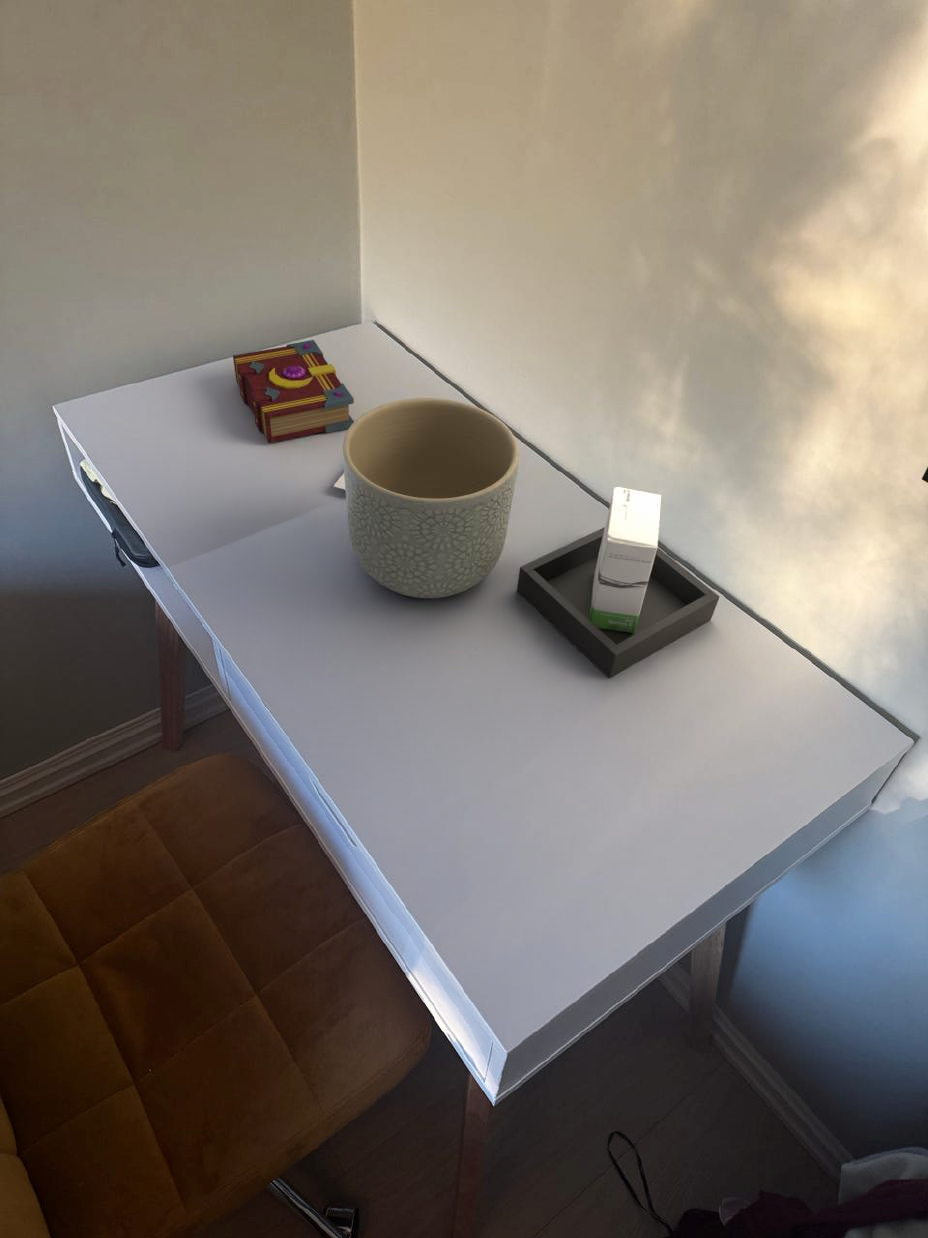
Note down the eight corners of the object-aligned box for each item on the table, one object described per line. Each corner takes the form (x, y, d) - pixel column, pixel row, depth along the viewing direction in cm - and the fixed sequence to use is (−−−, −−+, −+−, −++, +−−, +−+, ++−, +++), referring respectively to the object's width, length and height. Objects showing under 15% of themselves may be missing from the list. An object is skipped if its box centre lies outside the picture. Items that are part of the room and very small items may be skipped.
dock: (710, 620, 94) (719, 596, 92) (609, 679, 88) (615, 655, 85) (616, 542, 102) (622, 518, 100) (516, 591, 96) (519, 566, 93)
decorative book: (267, 447, 110) (263, 412, 107) (231, 380, 120) (227, 346, 117) (355, 429, 114) (354, 394, 111) (313, 365, 124) (311, 331, 120)
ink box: (634, 635, 91) (659, 548, 83) (586, 627, 92) (606, 539, 83) (639, 579, 97) (663, 492, 89) (593, 571, 98) (612, 483, 89)
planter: (352, 511, 103) (348, 393, 92) (500, 515, 104) (513, 400, 93) (342, 618, 91) (335, 498, 80) (508, 622, 92) (525, 504, 81)
